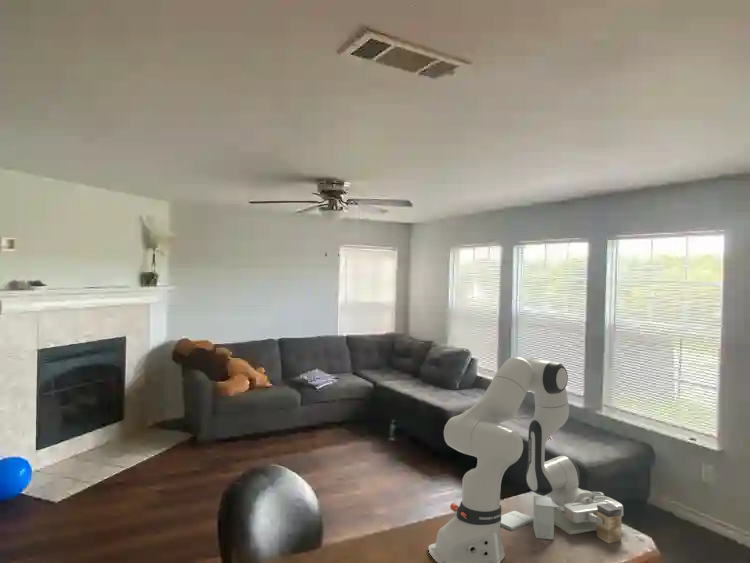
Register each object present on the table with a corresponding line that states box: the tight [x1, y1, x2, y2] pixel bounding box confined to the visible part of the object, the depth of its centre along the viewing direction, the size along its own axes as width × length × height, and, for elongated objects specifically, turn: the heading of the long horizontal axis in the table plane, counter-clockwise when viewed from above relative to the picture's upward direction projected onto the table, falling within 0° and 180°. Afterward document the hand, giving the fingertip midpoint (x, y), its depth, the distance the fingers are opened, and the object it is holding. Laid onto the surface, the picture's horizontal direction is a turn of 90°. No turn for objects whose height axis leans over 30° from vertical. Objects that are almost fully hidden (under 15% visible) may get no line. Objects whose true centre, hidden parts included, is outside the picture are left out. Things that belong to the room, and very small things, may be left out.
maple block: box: [596, 503, 622, 544], centre depth 170 cm, size 5×5×10 cm
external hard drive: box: [500, 510, 533, 531], centre depth 182 cm, size 2×8×12 cm
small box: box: [532, 495, 555, 541], centre depth 173 cm, size 8×6×10 cm
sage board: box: [554, 508, 597, 535], centre depth 183 cm, size 16×16×1 cm
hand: (611, 520), depth 169 cm, fingers closed on maple block, 5 cm apart
